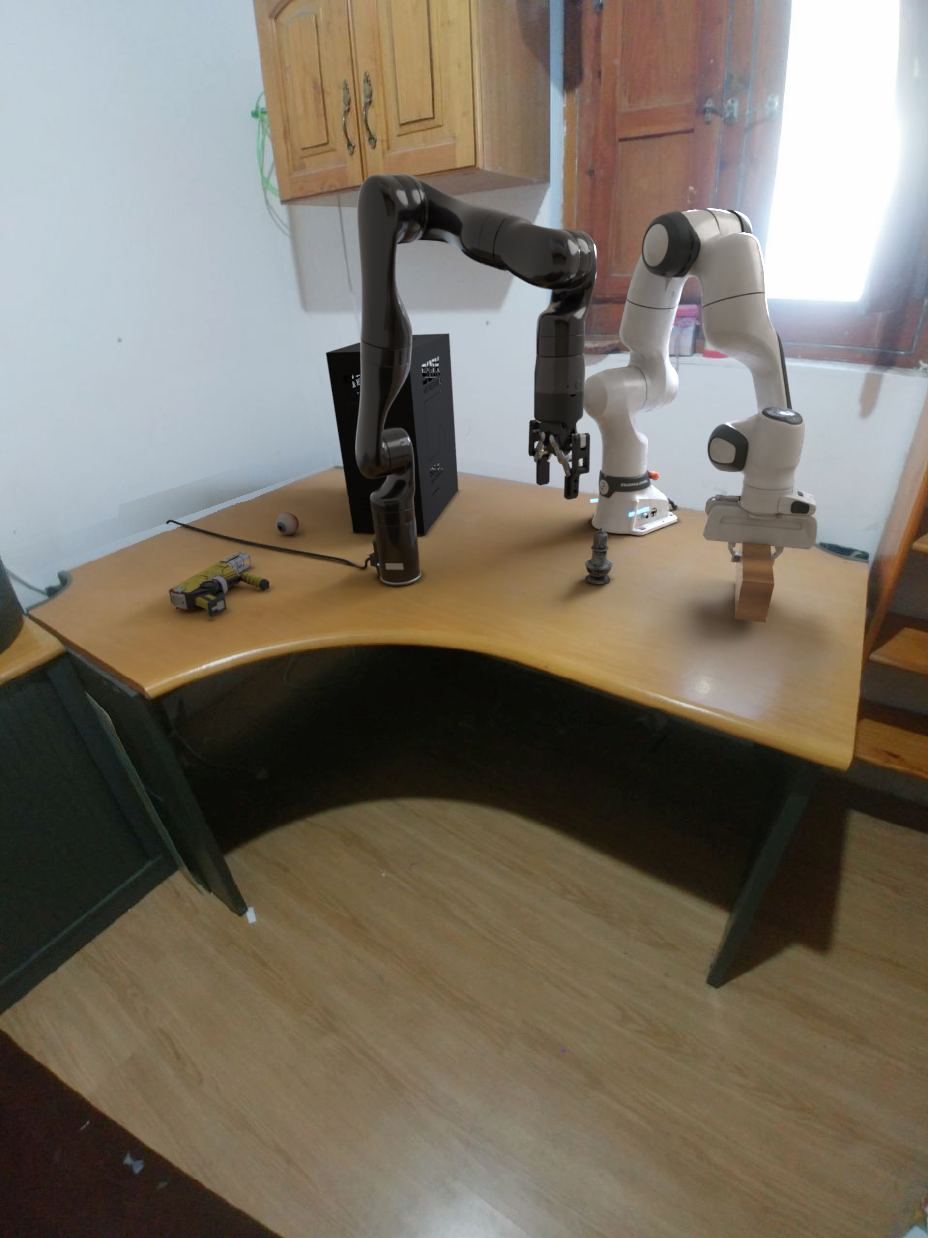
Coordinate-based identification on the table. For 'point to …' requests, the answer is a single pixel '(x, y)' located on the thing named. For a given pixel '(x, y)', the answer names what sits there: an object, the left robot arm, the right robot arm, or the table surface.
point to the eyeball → (287, 523)
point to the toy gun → (214, 585)
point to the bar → (753, 582)
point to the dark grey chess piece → (599, 560)
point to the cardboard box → (418, 413)
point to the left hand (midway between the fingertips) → (556, 491)
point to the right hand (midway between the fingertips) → (751, 563)
